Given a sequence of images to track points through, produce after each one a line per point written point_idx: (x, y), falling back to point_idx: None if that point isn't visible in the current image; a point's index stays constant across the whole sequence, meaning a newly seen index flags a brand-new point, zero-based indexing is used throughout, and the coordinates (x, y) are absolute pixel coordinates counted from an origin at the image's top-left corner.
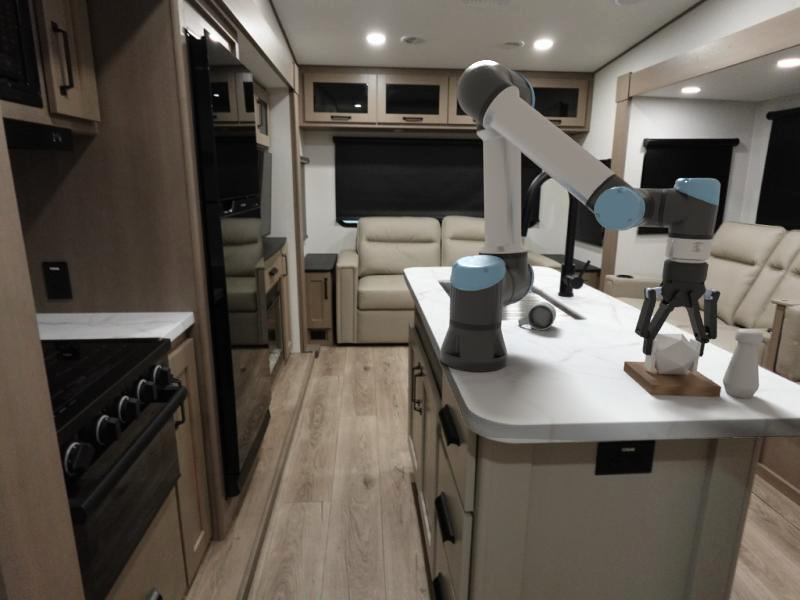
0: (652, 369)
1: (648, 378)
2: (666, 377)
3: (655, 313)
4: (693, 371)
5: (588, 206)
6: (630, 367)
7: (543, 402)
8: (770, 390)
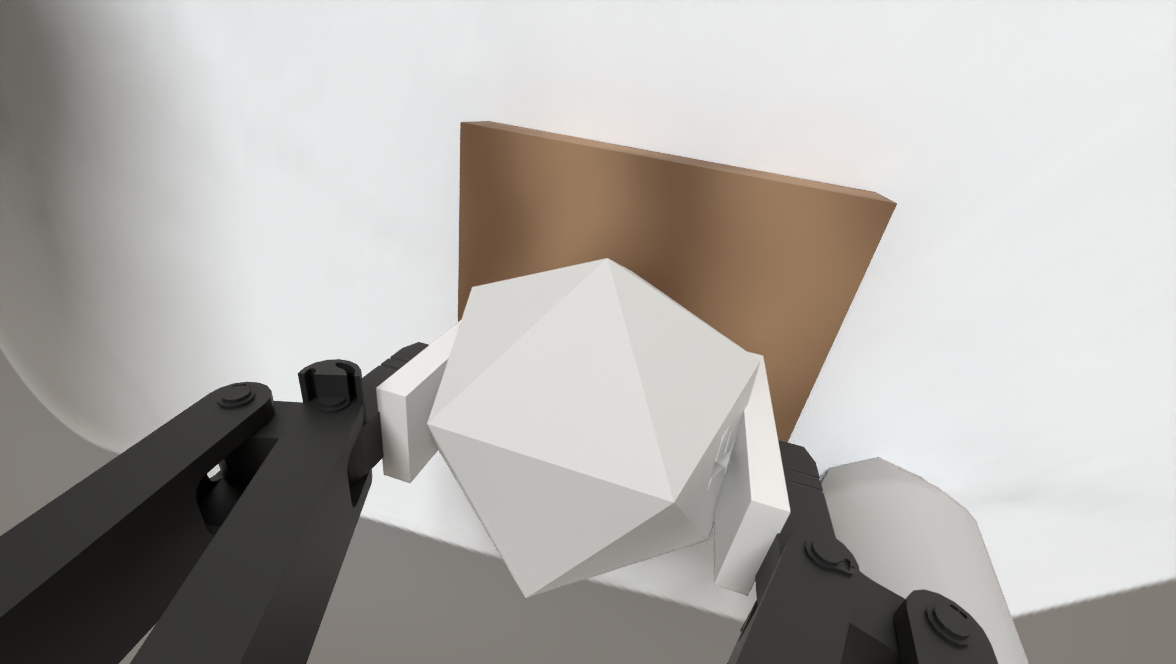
0: None
1: None
2: None
3: (156, 628)
4: None
5: None
6: (462, 218)
7: (152, 380)
8: (1126, 513)
